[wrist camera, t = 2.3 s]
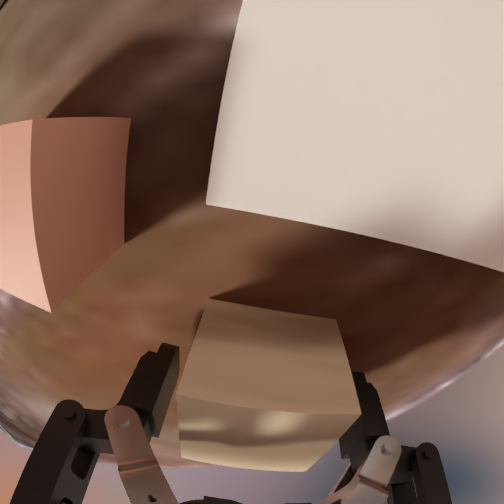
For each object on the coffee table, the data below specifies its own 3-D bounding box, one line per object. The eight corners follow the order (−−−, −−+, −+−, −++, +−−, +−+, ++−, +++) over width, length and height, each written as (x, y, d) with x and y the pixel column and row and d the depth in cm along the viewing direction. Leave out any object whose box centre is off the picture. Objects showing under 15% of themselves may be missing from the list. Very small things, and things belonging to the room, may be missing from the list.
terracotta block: (43, 122, 8) (-44, 137, 4) (132, 118, 8) (32, 119, 4) (44, 225, 10) (-28, 272, 6) (125, 242, 10) (51, 312, 6)
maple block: (208, 297, 11) (176, 393, 7) (335, 317, 11) (361, 413, 7) (201, 377, 13) (181, 457, 9) (300, 392, 14) (305, 471, 9)
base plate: (281, -104, 3) (282, -117, 2) (537, 28, 3) (549, 26, 2) (213, 195, 9) (205, 204, 8) (513, 268, 9) (525, 279, 8)
